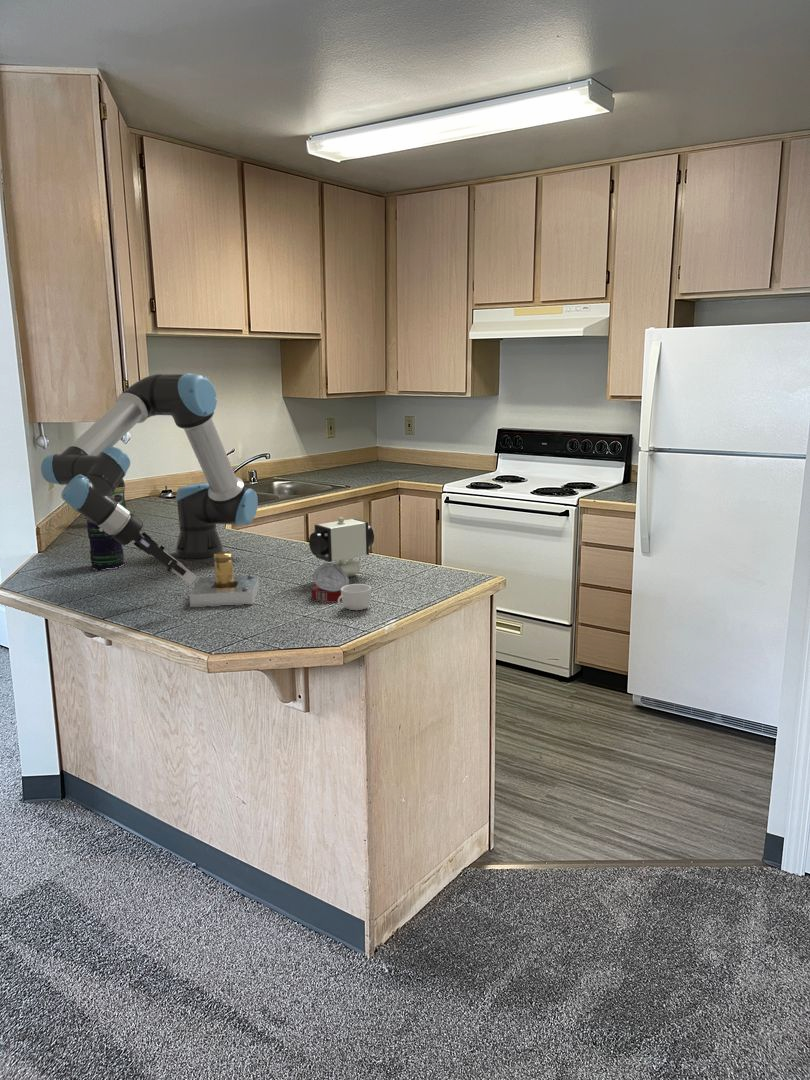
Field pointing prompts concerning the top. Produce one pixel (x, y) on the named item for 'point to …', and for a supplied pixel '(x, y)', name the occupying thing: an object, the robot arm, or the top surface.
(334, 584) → the canned food
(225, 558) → the gold metal cylinder
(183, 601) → the top surface
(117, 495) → the coffee jar
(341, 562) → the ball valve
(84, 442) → the robot arm
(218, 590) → the jig
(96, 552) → the storage jar
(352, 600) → the teacup
